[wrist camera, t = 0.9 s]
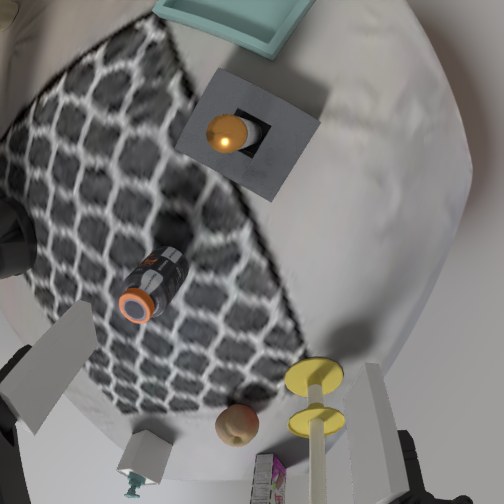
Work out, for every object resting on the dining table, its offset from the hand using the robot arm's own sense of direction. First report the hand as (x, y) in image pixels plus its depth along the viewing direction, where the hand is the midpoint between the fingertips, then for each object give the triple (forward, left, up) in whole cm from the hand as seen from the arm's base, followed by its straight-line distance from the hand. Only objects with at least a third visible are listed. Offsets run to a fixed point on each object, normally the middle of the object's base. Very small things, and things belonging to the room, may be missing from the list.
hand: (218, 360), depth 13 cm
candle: (+22, -20, -25) cm, 39 cm away
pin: (-6, +7, -25) cm, 27 cm away
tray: (-16, +23, -25) cm, 38 cm away
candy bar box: (+34, -53, -25) cm, 68 cm away
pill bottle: (-7, -13, -25) cm, 29 cm away
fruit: (+16, -35, -25) cm, 46 cm away
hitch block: (-6, +7, -25) cm, 27 cm away
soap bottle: (+6, -66, -25) cm, 71 cm away
